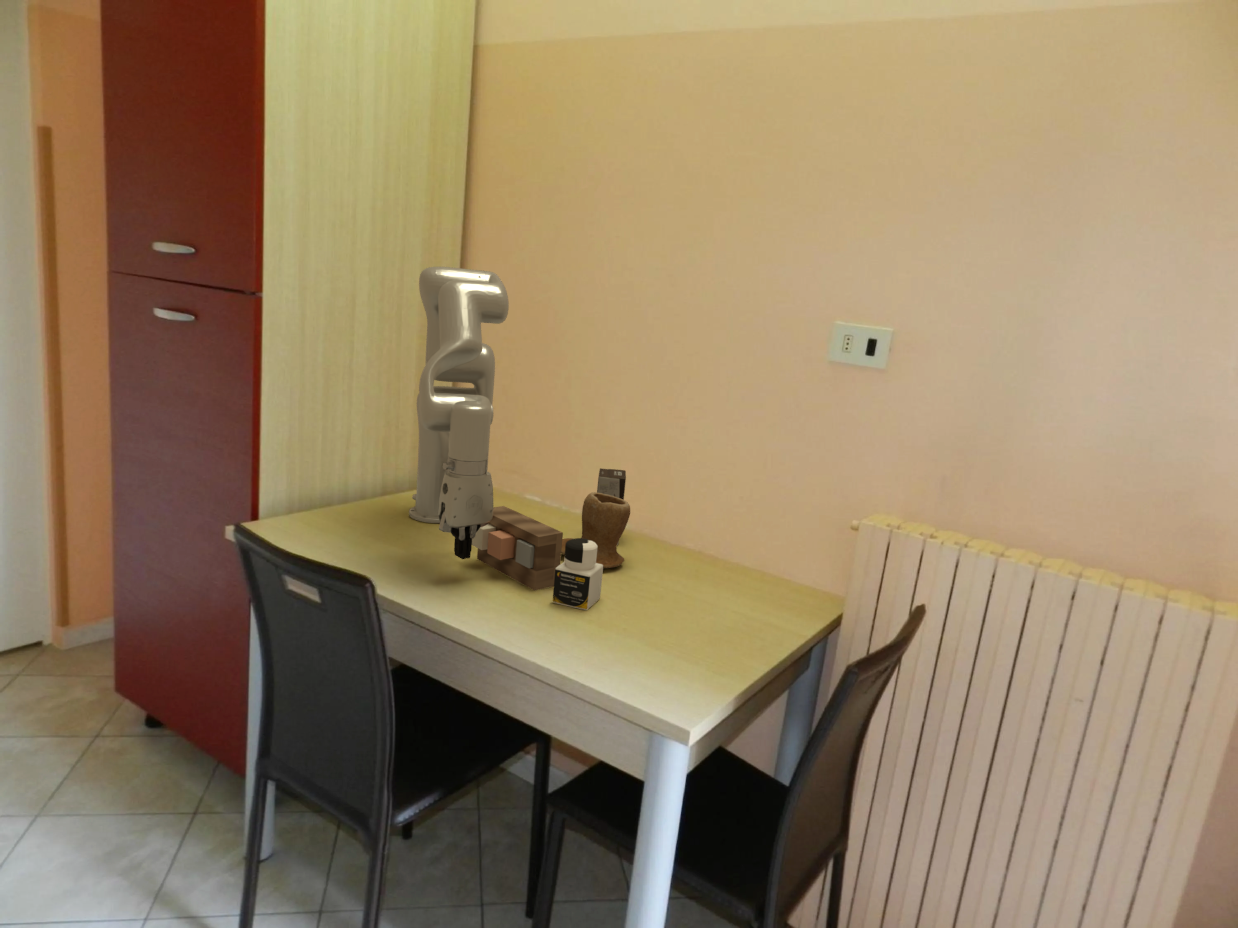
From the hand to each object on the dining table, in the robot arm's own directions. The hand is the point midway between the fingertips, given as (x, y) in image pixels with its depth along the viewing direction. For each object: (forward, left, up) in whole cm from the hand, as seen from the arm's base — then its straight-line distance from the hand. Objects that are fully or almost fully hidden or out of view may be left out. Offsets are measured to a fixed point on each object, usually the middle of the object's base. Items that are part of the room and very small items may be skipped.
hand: (462, 556), depth 167 cm
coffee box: (-6, +44, -5) cm, 44 cm away
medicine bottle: (+20, +13, -5) cm, 24 cm away
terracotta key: (+2, +8, 0) cm, 8 cm away
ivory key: (-4, +8, 0) cm, 9 cm away
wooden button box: (+2, +12, -5) cm, 13 cm away
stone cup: (+4, +31, -5) cm, 32 cm away
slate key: (+9, +10, 0) cm, 13 cm away
